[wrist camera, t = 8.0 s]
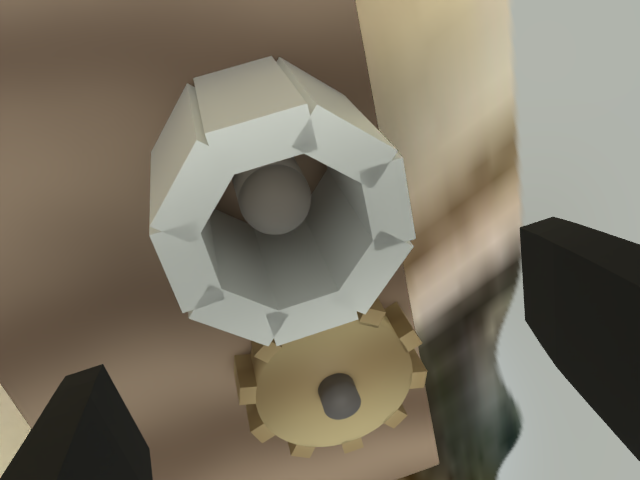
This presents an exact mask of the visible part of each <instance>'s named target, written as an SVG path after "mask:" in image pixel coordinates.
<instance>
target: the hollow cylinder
mask: <svg viewBox="0 0 640 480" xmlns="http://www.w3.org/2000/svg"><path fill="white" fill-rule="evenodd" d="M193 80H194V85H195V87H193V86H192V85H190V84H188V83H187V84H186V86H185V88H184V90H183V92H182V94H181V96H180V98H179V99H178V101H177V103H176V105H175V107H174V109H173V111H172V113H171V115H170V117H169V119H168V121H167V123H166V124H165V126H164V128H163V130H162V132H161V134H160V136H159V138H158V140H157V142H156V144H155V146H154V148H153V149H152V151H151V174H150V222H149V236H150V238H151V241H152V243H153V245H154V248H155V250H156V252H157V255H158V257H159V259H160V262H161V264H162V266H163V269H164V271H165V273H166V276H167V278H168V280H169V283H170V285H171V287H172V290H173V292H174V294H175V297H176V299H177V301H178V304H179V306H180V308H181V311H182V313H185V312H188V316H189V319H191V320H194V321H197V322H200V323H203V324H206V325H209V326H211V327H214V328H217V329H220V330H223V331H226V332H229V333H231V334H234V335H237V336H240V337H243V338H246V339H249V340H251V341H254V342H257V343H260V344H263V345H266V346H269V345H270V343H271V342H272V340H273V339H274V340H275V343H276V346H279V345H282V344H285V343H288V342H291V341H294V340H298V339H301V338H304V337H307V336H310V335H313V334H316V333H319V332H322V331H325V330H328V329H331V328H334V327H337V326H340V325H343V324H346V323H349V322H352V321H355V320H358V315H357V311H358V312H360V313H363V314H366V313H367V311H368V310H369V309H370V307H371V306H372V304H373V303H374V302H375V300H376V299H377V297H378V296H379V295H380V293H381V292H382V290H383V289H384V287H385V286H386V285H387V283H388V282H389V280H390V279H391V278H392V276H393V275H394V273H395V272H396V271H397V269H398V268H399V266H400V265H401V264H402V262H403V261H404V259H405V258H406V257H407V255H408V254H409V252H410V251H411V250H412V248H413V247H414V246H413V244H412V243H411V242H410V240H413V239H416V236H415V230H414V224H413V217H412V211H411V205H410V199H409V193H408V186H407V180H406V174H405V168H404V161H403V157H402V156H401V155H400V154H399V153H398V150H397V149H396V148H395V147H394V146H393V145H392V144H391V143H390V142H389V141H388V140H387V139H386V138H385V137H384V136H383V135H382V133H381V132H380V131H379V130H378V129H377V128H376V127H375V126H374V125H373V124H372V123H371V122H370V121H369V120H368V119H367V118H366V117H365V116H364V115H363V114H362V113H361V112H360V111H359V110H358V109H357V108H356V107H355V106H354V105H353V104H352V103H351V101H350V100H349V99H348V98H347V97H346V96H345V95H343V94H342V93H340V92H338V91H336V90H335V89H333V88H331V87H330V86H328V85H326V84H325V83H323V82H321V81H320V80H318V79H316V78H314V77H313V76H311V75H309V74H308V73H306V72H304V71H303V70H301V69H299V68H297V67H296V66H294V65H292V64H291V63H289V62H287V61H286V60H284V59H282V58H281V57H279V58H278V60H277V62H276V61H275V60H274V58H273V57H272V56H269V57H265V58H262V59H258V60H255V61H251V62H248V63H244V64H241V65H237V66H234V67H230V68H227V69H223V70H220V71H216V72H213V73H209V74H206V75H202V76H199V77H195V78H193ZM301 154H306V155H308V156H310V157H312V158H314V159H316V160H317V161H319V162H321V163H323V164H325V165H327V171H326V172H325V174H324V175H323V177H322V179H321V180H320V182H319V183H318V185H317V187H316V188H315V190H314V191H313V193H312V194H311V206H310V210H309V213H308V215H307V217H306V218H305V220H304V221H303V222H302V223H301V224H300V225H299V226H298V227H297V228H296V229H294V230H292V231H290V232H288V233H285V234H280V235H270V234H265V233H262V232H260V231H258V230H256V229H254V228H253V227H252V226H251V225H249V224H248V223H245V222H243V221H241V220H239V219H236V218H234V217H232V216H230V215H227V214H225V213H223V212H221V211H218V210H216V209H215V207H216V205H217V204H218V202H219V200H220V199H221V197H222V195H223V193H224V192H225V190H226V188H227V186H228V185H229V183H230V181H231V179H232V178H233V176H234V174H238V173H241V172H244V171H248V170H251V169H254V168H257V167H261V166H264V165H267V164H271V163H274V162H277V161H281V160H284V159H287V158H291V157H294V156H297V155H301Z"/></svg>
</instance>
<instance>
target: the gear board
mask: <svg viewBox="0 0 640 480" xmlns="http://www.w3.org/2000/svg"><path fill="white" fill-rule="evenodd" d="M269 56H272V57H273V58H274V60H275V61H276V62H277V60H278V58H279V57H281V58H282V59H284V60H286V61H287V62H289V63H291V64H292V65H294V66H296V67H297V68H299V69H301V70H303V71H304V72H306V73H308V74H309V75H311V76H313V77H314V78H316V79H318V80H320V81H321V82H323V83H325V84H326V85H328V86H330V87H331V88H333V89H335V90H336V91H338V92H340V93H342V94H343V95H345V96H346V97H347V98H348V99H349V100H350V101H351V103H352V104H353V105H354V106H355V107H356V108H357V109H358V110H359V111H360V112H361V113H362V114H363V115H364V116H365V117H366V118H367V119H368V120H369V121H370V122H371V123H372V124H373V125H374V126H375V127H376V128H377V129H378V124H377V118H376V113H375V107H374V102H373V96H372V91H371V85H370V80H369V74H368V69H367V63H366V58H365V52H364V47H363V41H362V36H361V30H360V25H359V19H358V14H357V8H356V3H355V0H0V383H1V385H2V386H3V388H4V389H5V391H6V392H7V394H8V395H9V397H10V398H11V399H12V401H13V402H14V404H15V405H16V407H17V408H18V410H19V411H20V413H21V414H22V416H23V417H24V418H25V420H26V421H27V423H28V424H29V426H30V427H31V429H32V428H33V426H34V425H35V423H36V421H37V420H38V418H39V417H40V415H41V413H42V412H43V410H44V408H45V407H46V405H47V404H48V402H49V400H50V399H51V397H52V396H53V394H54V392H55V391H56V389H57V388H58V386H59V385H60V383H61V382H62V380H63V379H64V377H65V376H67V375H70V374H73V373H76V372H79V371H83V370H86V369H89V368H92V367H95V366H98V365H101V364H103V365H104V367H105V368H106V370H107V372H108V374H109V376H110V378H111V379H112V381H113V383H114V385H115V387H116V388H117V390H118V392H119V394H120V396H121V398H122V399H123V401H124V403H125V405H126V407H127V408H128V410H129V412H130V414H131V416H132V418H133V419H134V421H135V423H136V425H137V427H138V428H139V430H140V432H141V434H142V436H143V438H144V439H145V441H146V443H147V445H148V447H149V448H150V458H151V467H152V476H153V480H396V479H399V478H402V477H405V476H408V475H410V474H413V473H416V472H419V471H422V470H424V469H427V468H430V467H433V466H436V465H438V464H439V459H438V454H437V448H436V443H435V437H434V432H433V426H432V421H431V415H430V410H429V404H428V399H427V393H426V388H425V380H426V375H427V370H426V368H425V366H424V365H423V363H422V361H421V359H420V355H419V349H418V346H419V345H421V344H422V342H421V340H420V339H419V337H418V335H417V334H416V332H415V327H414V322H413V316H412V311H411V305H410V300H409V294H408V289H407V283H406V278H405V272H404V267H403V262H402V264H401V265H400V266H399V268H398V269H397V271H396V272H395V273H394V275H393V276H392V278H391V279H390V280H389V282H388V283H387V285H386V286H385V287H384V289H383V290H382V292H381V293H380V295H379V296H378V297H377V299H376V300H375V302H374V303H373V304H372V306H371V307H370V309H369V310H368V311H367V313H366V314H363V313H360V312H358V311H357V315H358V320H355V321H352V322H349V323H346V324H343V325H340V326H337V327H334V328H331V329H328V330H325V331H322V332H319V333H316V334H313V335H310V336H307V337H304V338H301V339H298V340H294V341H291V342H288V343H285V344H282V345H279V346H276V343H275V340H274V339H273V340H272V342H271V343H270V345H269V346H266V345H263V344H260V343H257V342H254V341H251V340H249V339H246V338H243V337H240V336H237V335H234V334H231V333H229V332H226V331H223V330H220V329H217V328H214V327H211V326H209V325H206V324H203V323H200V322H197V321H194V320H191V319H189V316H188V312H185V313H182V311H181V308H180V306H179V304H178V301H177V299H176V297H175V294H174V292H173V290H172V287H171V285H170V283H169V280H168V278H167V276H166V273H165V271H164V269H163V266H162V264H161V262H160V259H159V257H158V255H157V252H156V250H155V248H154V245H153V243H152V241H151V238H150V236H149V222H150V174H151V151H152V149H153V148H154V146H155V144H156V142H157V140H158V138H159V136H160V134H161V132H162V130H163V128H164V126H165V124H166V123H167V121H168V119H169V117H170V115H171V113H172V111H173V109H174V107H175V105H176V103H177V101H178V99H179V98H180V96H181V94H182V92H183V90H184V88H185V86H186V84H187V83H188V84H190V85H192V86H193V87H195V85H194V80H193V78H195V77H199V76H202V75H206V74H209V73H213V72H216V71H220V70H223V69H227V68H230V67H234V66H237V65H241V64H244V63H248V62H251V61H255V60H258V59H262V58H265V57H269ZM378 130H379V129H378ZM326 171H327V165H325V164H323V163H321V162H319V161H317V160H316V159H314V158H312V157H310V156H308V155H306V154H301V155H297V156H294V157H291V158H287V159H284V160H281V161H277V162H274V163H271V164H267V165H264V166H261V167H257V168H254V169H251V170H248V171H244V172H241V173H238V174H234V176H233V178H232V179H231V181H230V183H229V185H228V186H227V188H226V190H225V192H224V193H223V195H222V197H221V199H220V200H219V202H218V204H217V205H216V207H215V209H216V210H218V211H221V212H223V213H225V214H227V215H230V216H232V217H234V218H236V219H239V220H241V221H243V222H245V223H248V224H249V225H251V226H252V227H253V228H254V229H256V230H258V231H260V232H262V233H265V234H270V235H280V234H285V233H288V232H290V231H292V230H294V229H296V228H297V227H298V226H299V225H300V224H301V223H302V222H303V221H304V220H305V218H306V217H307V215H308V213H309V210H310V206H311V194H312V193H313V191H314V190H315V188H316V187H317V185H318V183H319V182H320V180H321V179H322V177H323V175H324V174H325V172H326Z"/></svg>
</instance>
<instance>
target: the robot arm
mask: <svg viewBox="0 0 640 480" xmlns="http://www.w3.org/2000/svg"><path fill="white" fill-rule="evenodd" d="M520 239H521V256H522V273H523V289H524V308H525V320H526V322H527V324H528V325H529V327H530V328H531V330H532V331H533V333H534V334H535V336H536V337H537V339H538V341H539V342H540V344H541V345H542V347H543V348H544V350H545V351H546V353H547V354H548V355H549V357H550V358H551V360H552V361H553V363H554V364H555V366H556V367H557V368H558V369H559V370H560V372H561V373H562V374H563V375H564V376H565V378H566V379H567V380H568V381H569V382H570V383H571V384H572V386H573V387H574V388H575V389H576V390H577V391H578V392H579V394H580V395H581V396H582V397H583V398H584V399H585V400H586V402H587V403H588V404H589V405H590V406H591V407H592V408H593V409H594V411H595V412H596V413H597V414H598V415H599V416H600V417H601V418H602V419H603V421H604V422H605V423H606V424H607V425H608V426H609V427H610V428H611V430H612V431H613V432H614V433H615V434H616V435H617V436H618V438H619V439H620V440H621V441H622V442H623V443H624V444H625V445H626V446H627V448H628V449H629V450H630V451H631V452H632V453H633V454H634V456H635V457H636V458H637V459H638V460H639V461H640V245H639V244H636V243H633V242H630V241H627V240H625V239H622V238H618V237H616V236H613V235H610V234H607V233H604V232H601V231H598V230H595V229H592V228H588V227H586V226H583V225H580V224H577V223H573V222H570V221H567V220H563V219H560V218H555V217H551V218H548V219H545V220H541V221H538V222H535V223H533V224H530V225H527V226H523V227H520ZM0 480H153V476H152V467H151V458H150V448H149V447H148V445H147V443H146V441H145V439H144V438H143V436H142V434H141V432H140V430H139V428H138V427H137V425H136V423H135V421H134V419H133V418H132V416H131V414H130V412H129V410H128V408H127V407H126V405H125V403H124V401H123V399H122V398H121V396H120V394H119V392H118V390H117V388H116V387H115V385H114V383H113V381H112V379H111V378H110V376H109V374H108V372H107V370H106V368H105V367H104V365H103V364H101V365H98V366H95V367H92V368H89V369H86V370H83V371H79V372H76V373H73V374H70V375H67V376H65V377H64V379H63V380H62V382H61V383H60V385H59V386H58V388H57V389H56V391H55V392H54V394H53V396H52V397H51V399H50V400H49V402H48V404H47V405H46V407H45V408H44V410H43V412H42V413H41V415H40V417H39V418H38V420H37V421H36V423H35V425H34V426H33V428H32V429H31V431H30V433H29V434H28V436H27V437H26V439H25V441H24V442H23V444H22V445H21V447H20V448H19V450H18V452H17V453H16V455H15V456H14V458H13V459H12V461H11V463H10V464H9V466H8V467H7V469H6V470H5V472H4V473H3V475H2V477H1V478H0Z"/></svg>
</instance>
